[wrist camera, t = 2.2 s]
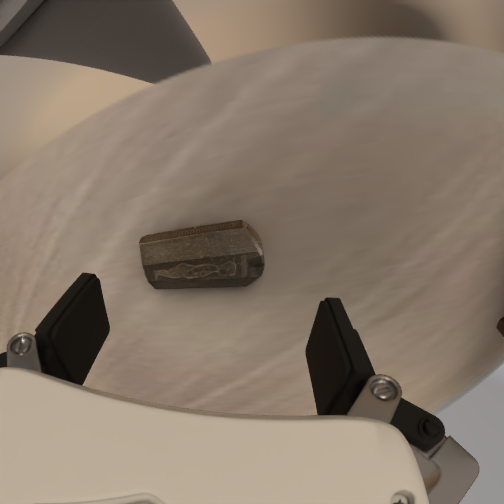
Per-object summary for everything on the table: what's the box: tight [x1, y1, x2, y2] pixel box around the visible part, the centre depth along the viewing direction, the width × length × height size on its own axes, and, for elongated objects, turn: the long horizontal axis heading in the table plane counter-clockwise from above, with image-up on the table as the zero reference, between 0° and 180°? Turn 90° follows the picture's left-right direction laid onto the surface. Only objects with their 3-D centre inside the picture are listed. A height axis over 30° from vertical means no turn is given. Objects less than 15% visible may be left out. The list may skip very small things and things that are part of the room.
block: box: [139, 220, 264, 289], centre depth 14 cm, size 4×6×2 cm, turn 95°
